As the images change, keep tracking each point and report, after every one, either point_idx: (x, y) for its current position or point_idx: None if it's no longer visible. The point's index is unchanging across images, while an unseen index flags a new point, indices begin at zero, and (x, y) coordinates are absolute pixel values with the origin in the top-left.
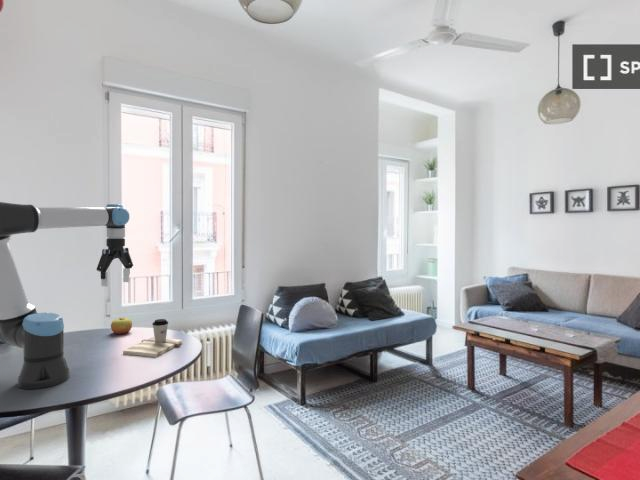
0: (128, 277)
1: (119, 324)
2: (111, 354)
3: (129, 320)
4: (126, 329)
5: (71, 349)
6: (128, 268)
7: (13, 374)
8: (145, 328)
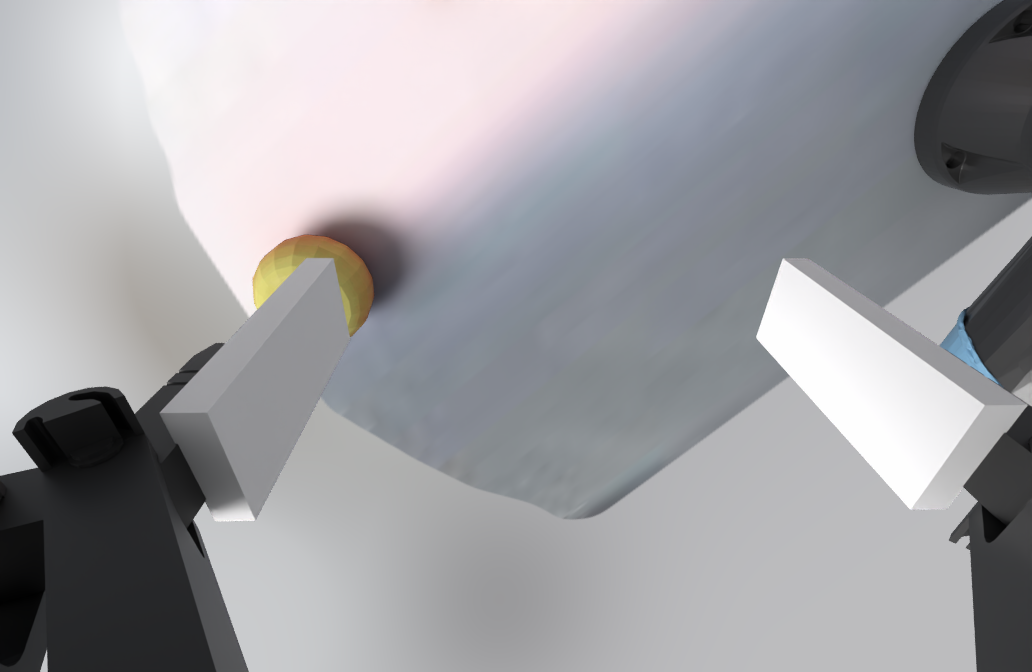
0: (296, 293)
1: (353, 277)
2: (663, 48)
3: (280, 263)
4: (332, 239)
5: (613, 300)
6: (180, 423)
7: (901, 273)
8: (194, 208)
